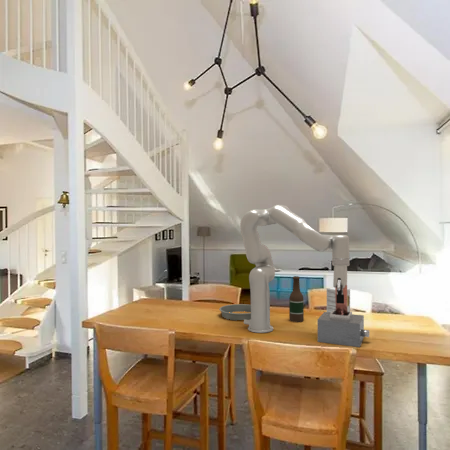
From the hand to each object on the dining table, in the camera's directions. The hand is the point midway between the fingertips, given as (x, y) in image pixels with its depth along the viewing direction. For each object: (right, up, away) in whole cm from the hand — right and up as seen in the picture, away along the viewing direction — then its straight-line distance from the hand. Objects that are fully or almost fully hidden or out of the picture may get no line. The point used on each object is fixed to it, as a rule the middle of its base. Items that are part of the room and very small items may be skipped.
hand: (341, 301), depth 175 cm
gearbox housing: (+1, -17, 0) cm, 17 cm away
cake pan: (-44, -18, +45) cm, 66 cm away
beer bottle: (-14, -17, +33) cm, 40 cm away
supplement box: (+9, -17, +37) cm, 42 cm away
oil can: (0, -5, 0) cm, 5 cm away
